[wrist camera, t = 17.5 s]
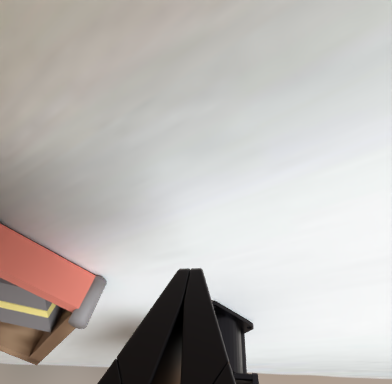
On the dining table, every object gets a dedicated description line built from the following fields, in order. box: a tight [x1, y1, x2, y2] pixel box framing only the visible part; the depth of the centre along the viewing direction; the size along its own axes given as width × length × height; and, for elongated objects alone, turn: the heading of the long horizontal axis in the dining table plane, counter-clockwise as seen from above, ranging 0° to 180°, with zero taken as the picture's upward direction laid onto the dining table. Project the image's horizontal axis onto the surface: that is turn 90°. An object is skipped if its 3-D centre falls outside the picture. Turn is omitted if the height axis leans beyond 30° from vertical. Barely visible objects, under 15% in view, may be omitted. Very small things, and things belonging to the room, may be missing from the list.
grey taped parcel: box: [0, 278, 64, 332], centre depth 30 cm, size 6×8×4 cm
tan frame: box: [0, 309, 75, 365], centre depth 29 cm, size 16×18×4 cm
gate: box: [0, 224, 106, 329], centre depth 25 cm, size 15×2×6 cm, turn 51°
